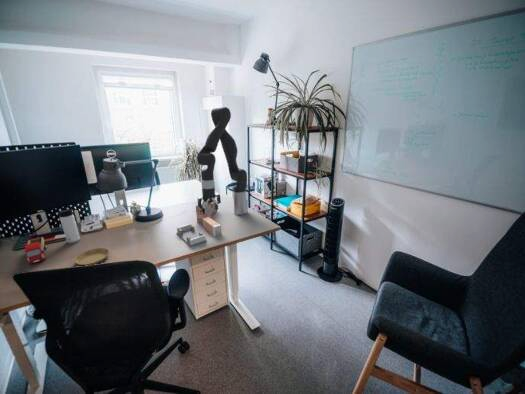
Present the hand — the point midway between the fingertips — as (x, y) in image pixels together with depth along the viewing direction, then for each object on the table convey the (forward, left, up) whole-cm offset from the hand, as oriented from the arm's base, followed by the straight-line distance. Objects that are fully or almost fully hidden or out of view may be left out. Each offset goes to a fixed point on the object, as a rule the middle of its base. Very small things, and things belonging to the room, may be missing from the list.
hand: (210, 211), depth 152 cm
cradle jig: (+14, 0, -13) cm, 19 cm away
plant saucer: (+62, -10, -13) cm, 65 cm away
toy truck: (+84, -33, -13) cm, 91 cm away
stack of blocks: (-9, -22, -13) cm, 27 cm away
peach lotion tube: (0, 0, -13) cm, 13 cm away
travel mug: (+69, -40, -13) cm, 81 cm away
